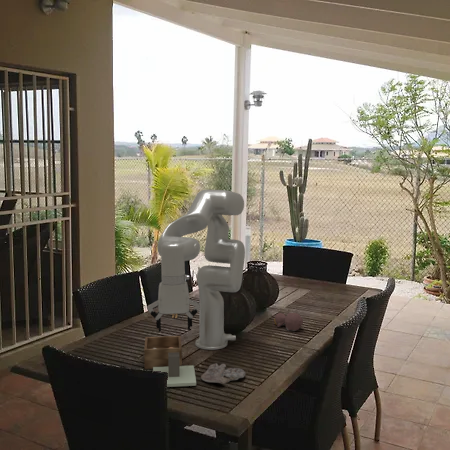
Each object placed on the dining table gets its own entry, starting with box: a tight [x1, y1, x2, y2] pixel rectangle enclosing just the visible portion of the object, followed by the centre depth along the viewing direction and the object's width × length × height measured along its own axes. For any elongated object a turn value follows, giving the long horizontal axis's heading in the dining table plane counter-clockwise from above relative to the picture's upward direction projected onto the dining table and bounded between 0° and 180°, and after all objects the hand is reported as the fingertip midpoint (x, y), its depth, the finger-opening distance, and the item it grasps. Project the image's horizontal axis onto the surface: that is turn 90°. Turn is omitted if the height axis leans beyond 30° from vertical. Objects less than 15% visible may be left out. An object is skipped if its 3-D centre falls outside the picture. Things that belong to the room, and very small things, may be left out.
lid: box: [152, 352, 197, 388], centre depth 176 cm, size 14×14×8 cm
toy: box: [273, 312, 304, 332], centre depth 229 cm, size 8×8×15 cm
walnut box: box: [143, 335, 183, 370], centre depth 192 cm, size 13×13×7 cm
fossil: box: [200, 362, 246, 385], centre depth 179 cm, size 17×4×15 cm
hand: (174, 329), depth 175 cm, fingers open, 9 cm apart
